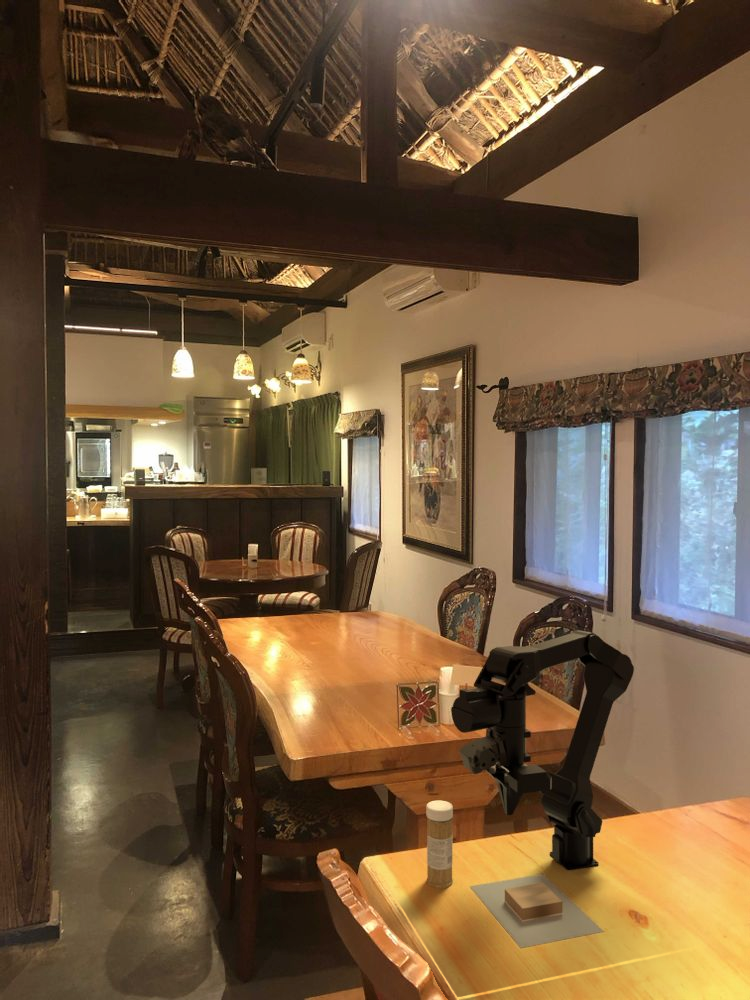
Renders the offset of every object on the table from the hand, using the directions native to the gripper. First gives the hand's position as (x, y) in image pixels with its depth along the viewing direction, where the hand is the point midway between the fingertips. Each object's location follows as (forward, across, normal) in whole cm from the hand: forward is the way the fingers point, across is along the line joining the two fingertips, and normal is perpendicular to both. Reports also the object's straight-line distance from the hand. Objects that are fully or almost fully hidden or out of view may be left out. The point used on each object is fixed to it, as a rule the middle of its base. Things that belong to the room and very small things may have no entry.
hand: (509, 814), depth 125 cm
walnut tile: (+11, +5, 0) cm, 12 cm away
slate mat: (+12, +8, 0) cm, 14 cm away
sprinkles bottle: (+12, -4, -11) cm, 17 cm away
